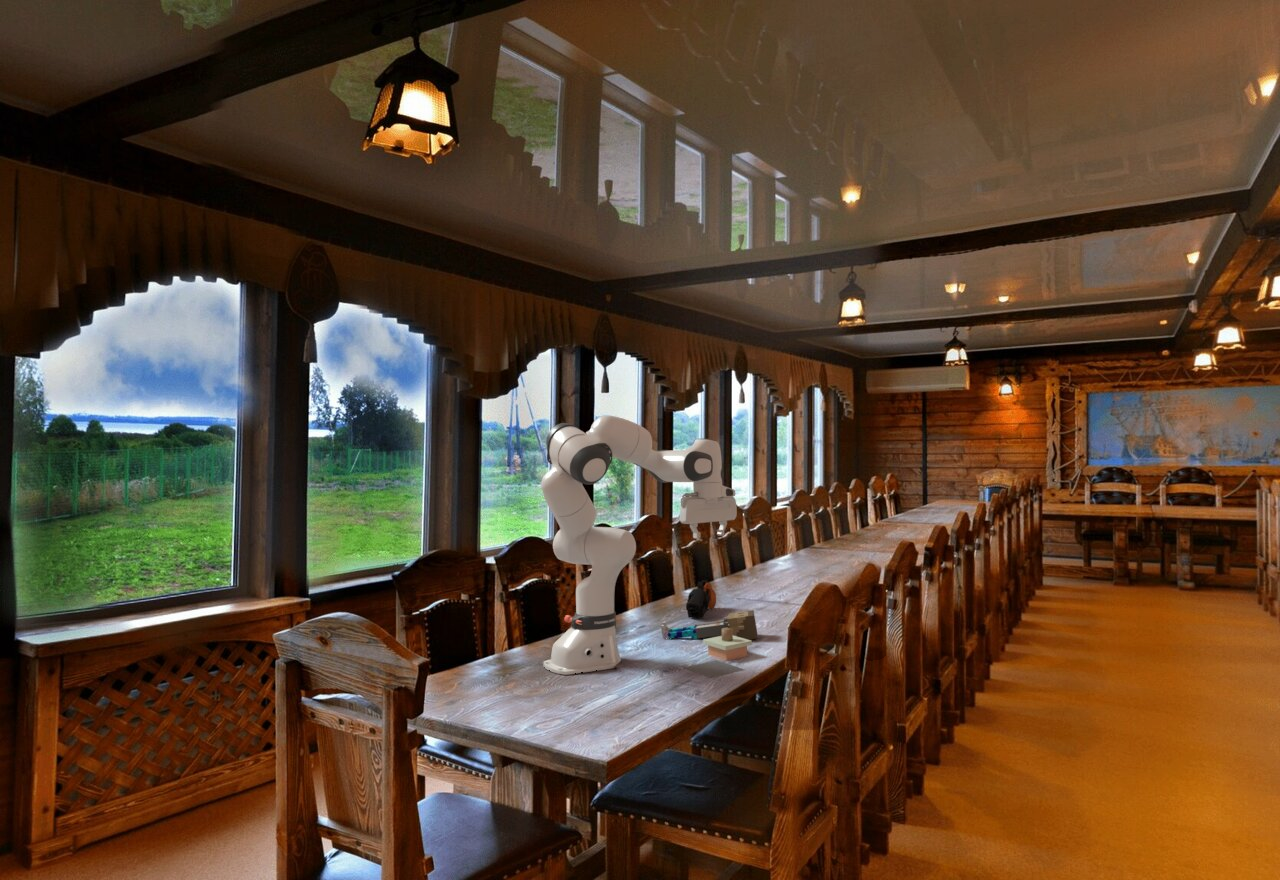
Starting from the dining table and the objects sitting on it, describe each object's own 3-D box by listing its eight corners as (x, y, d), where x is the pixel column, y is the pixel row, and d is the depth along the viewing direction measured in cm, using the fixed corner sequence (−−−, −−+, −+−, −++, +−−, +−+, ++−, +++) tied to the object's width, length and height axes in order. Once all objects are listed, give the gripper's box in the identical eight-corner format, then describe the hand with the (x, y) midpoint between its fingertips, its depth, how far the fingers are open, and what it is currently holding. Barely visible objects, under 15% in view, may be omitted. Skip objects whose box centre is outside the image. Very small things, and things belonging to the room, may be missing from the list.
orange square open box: (726, 663, 218) (726, 649, 218) (708, 657, 224) (708, 643, 224) (747, 658, 222) (747, 644, 222) (729, 652, 229) (728, 639, 229)
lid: (725, 650, 216) (725, 634, 216) (703, 643, 224) (702, 628, 224) (751, 644, 222) (751, 629, 222) (728, 638, 230) (728, 623, 230)
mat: (711, 680, 201) (711, 677, 201) (683, 670, 211) (683, 667, 211) (745, 672, 208) (745, 669, 208) (716, 663, 218) (716, 660, 218)
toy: (666, 615, 263) (753, 603, 259) (669, 637, 263) (756, 625, 259) (657, 633, 237) (753, 620, 233) (661, 658, 237) (758, 645, 233)
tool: (686, 638, 277) (680, 602, 272) (700, 603, 297) (695, 569, 292) (707, 639, 274) (702, 603, 269) (721, 603, 294) (716, 569, 289)
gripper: (687, 493, 226) (688, 540, 226) (739, 490, 238) (740, 534, 238) (674, 492, 231) (675, 538, 231) (725, 489, 243) (727, 533, 243)
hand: (708, 536), depth 234 cm, fingers open, 8 cm apart
